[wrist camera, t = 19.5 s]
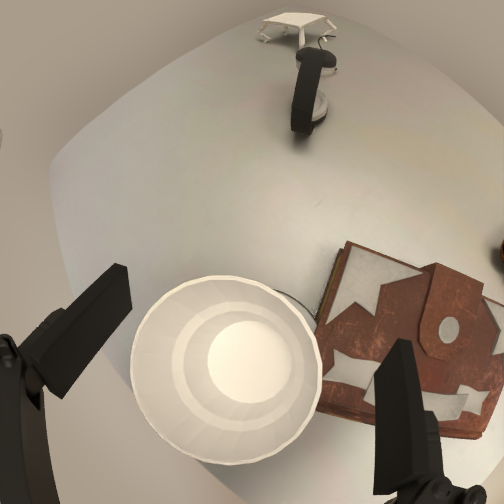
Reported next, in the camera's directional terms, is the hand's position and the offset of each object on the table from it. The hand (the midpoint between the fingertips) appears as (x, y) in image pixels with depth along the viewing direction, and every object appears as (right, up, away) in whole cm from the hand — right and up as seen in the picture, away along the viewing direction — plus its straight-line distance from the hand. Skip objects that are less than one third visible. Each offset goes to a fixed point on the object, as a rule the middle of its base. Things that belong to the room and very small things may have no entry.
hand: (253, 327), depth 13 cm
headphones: (+8, +24, +21) cm, 33 cm away
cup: (0, -6, +10) cm, 11 cm away
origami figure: (+8, +37, +25) cm, 46 cm away
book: (+16, -7, +12) cm, 22 cm away
